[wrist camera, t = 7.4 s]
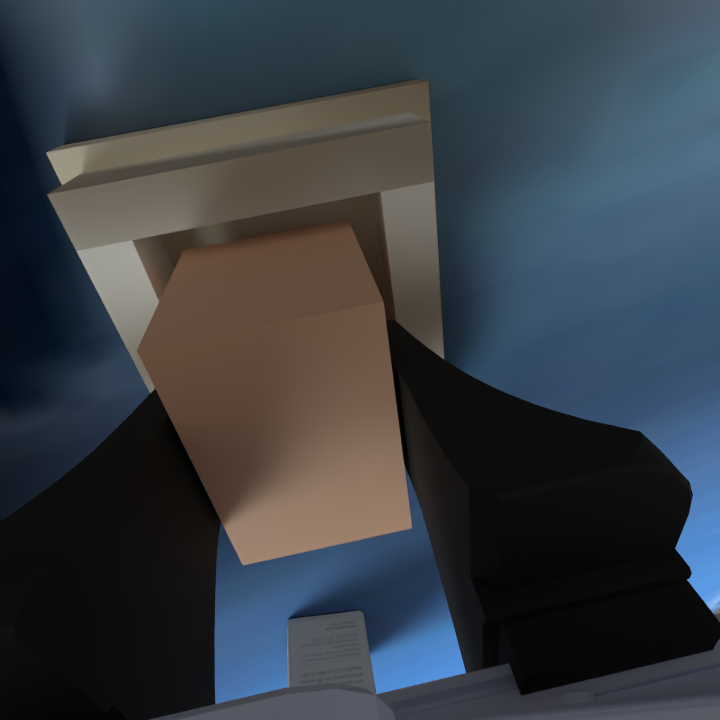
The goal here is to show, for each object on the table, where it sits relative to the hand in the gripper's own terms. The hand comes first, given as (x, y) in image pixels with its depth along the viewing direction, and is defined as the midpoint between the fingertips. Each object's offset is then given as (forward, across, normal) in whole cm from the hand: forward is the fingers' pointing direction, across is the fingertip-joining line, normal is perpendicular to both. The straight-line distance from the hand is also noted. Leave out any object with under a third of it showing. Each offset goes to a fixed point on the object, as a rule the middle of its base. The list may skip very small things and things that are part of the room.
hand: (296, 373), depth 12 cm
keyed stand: (+4, 0, 0) cm, 4 cm away
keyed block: (+2, 0, 0) cm, 2 cm away
